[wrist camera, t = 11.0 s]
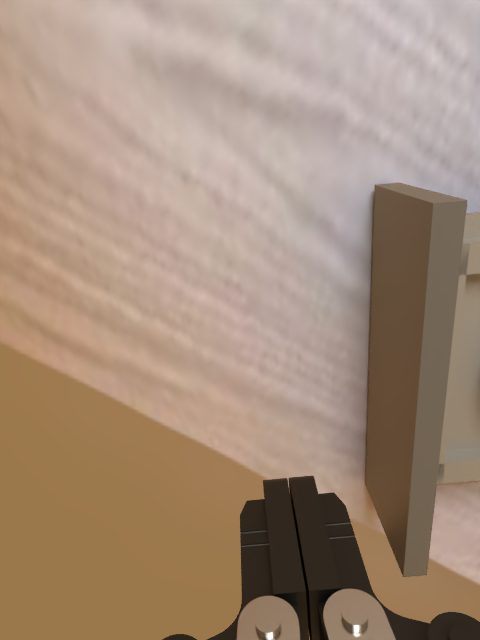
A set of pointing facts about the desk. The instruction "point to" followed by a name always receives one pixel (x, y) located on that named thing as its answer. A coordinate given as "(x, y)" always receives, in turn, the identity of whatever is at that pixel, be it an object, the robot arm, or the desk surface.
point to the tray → (421, 361)
